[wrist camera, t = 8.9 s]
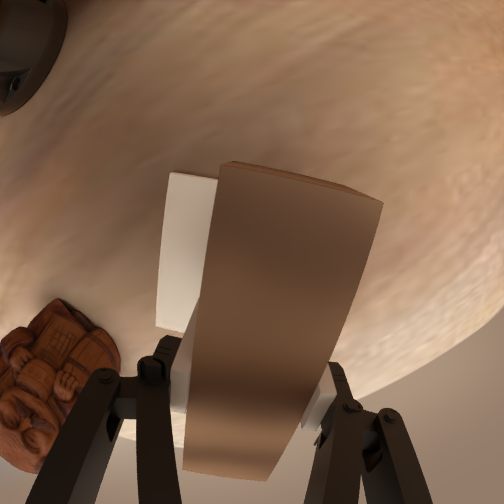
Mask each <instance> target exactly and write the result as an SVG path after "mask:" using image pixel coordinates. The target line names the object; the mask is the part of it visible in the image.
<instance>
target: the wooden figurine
mask: <svg viewBox="0 0 504 504" xmlns="http://www.w3.org/2000/svg"><path fill="white" fill-rule="evenodd" d="M103 367H107V368H111V369H114V370H116V371H117V372H118V373H119V372H120V356H119V354H118V351H117V347H116V345H115V344H114V342H113V341H112V339H111V338H110V336H109V335H108V334H107V333H106V332H105V331H104V330H103V329H102V328H98V329H97V328H96V327H94V326H93V324H92V323H91V322H90V321H89V320H88V319H86V318H85V317H84V316H83V315H82V314H81V313H80V312H78V311H72V312H69V311H68V310H67V309H66V307H65V306H64V305H63V303H62V302H61V301H60V300H59V299H56V300H53V301H52V302H50V303H49V304H48V305H47V306H46V307H45V308H44V309H42V310H41V312H40V313H39V314H38V315H37V316H36V317H35V318H34V319H33V320H32V321H31V322H30V324H29V325H28V327H27V328H26V327H18V328H16V329H14V330H12V331H11V332H10V333H9V334H7V335H6V336H5V337H4V338H3V339H2V340H1V342H0V456H1V457H3V458H4V459H5V460H6V461H8V462H9V463H10V464H11V465H13V466H14V467H16V468H18V469H20V470H22V471H25V472H28V473H33V474H39V471H40V469H41V467H42V465H43V463H44V461H45V459H46V457H47V455H48V453H49V451H50V449H51V447H52V445H53V443H54V441H55V439H56V437H57V435H58V433H59V431H60V429H61V427H62V426H63V424H64V422H65V420H66V418H67V416H68V414H69V413H70V411H71V409H72V407H73V405H74V404H75V402H76V400H77V398H78V396H79V395H80V393H81V391H82V389H83V388H84V386H85V384H86V383H87V381H88V379H89V377H90V376H91V374H92V373H93V372H94V371H95V370H96V369H98V368H103Z"/></svg>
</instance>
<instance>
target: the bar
mask: <svg viewBox="0 0 504 504" xmlns="http://www.w3.org/2000/svg"><path fill="white" fill-rule="evenodd" d="M383 204H384V203H383V202H381V201H379V200H376V199H374V198H372V197H370V196H367V195H365V194H363V193H361V192H358V191H356V190H353V189H351V188H349V187H346V186H344V185H340V184H336V183H332V182H328V181H325V180H320V179H316V178H312V177H308V176H304V175H300V174H295V173H291V172H286V171H282V170H277V169H272V168H268V167H263V166H258V165H253V164H247V163H242V162H237V161H232V162H229V163H226V164H222V165H221V167H220V172H219V177H218V183H217V188H216V194H215V200H214V206H213V211H212V217H211V223H210V230H209V236H208V242H207V248H206V255H205V262H204V268H203V275H202V282H201V289H200V297H199V304H198V312H197V320H196V328H195V336H194V344H193V353H192V362H191V364H192V366H191V376H190V386H189V396H188V405H187V413H186V425H185V438H184V452H183V470H186V471H191V472H196V473H202V474H208V475H214V476H221V477H228V478H236V479H245V480H255V481H266V480H267V479H268V477H269V476H270V474H271V473H272V471H273V469H274V468H275V466H276V464H277V462H278V461H279V459H280V457H281V455H282V454H283V452H284V450H285V448H286V446H287V445H288V443H289V441H290V439H291V437H292V436H293V434H294V432H295V430H296V428H297V426H298V424H299V422H300V420H301V418H302V416H303V414H304V412H305V410H306V408H307V406H308V404H309V402H310V400H311V398H312V396H313V394H314V391H315V389H316V387H317V385H318V383H319V382H320V379H321V377H322V375H323V373H324V371H325V368H326V366H327V364H328V362H329V359H330V357H331V355H332V352H333V350H334V348H335V345H336V343H337V340H338V338H339V336H340V333H341V331H342V328H343V326H344V323H345V321H346V318H347V315H348V313H349V310H350V307H351V305H352V302H353V299H354V297H355V294H356V291H357V288H358V285H359V282H360V280H361V277H362V274H363V271H364V268H365V265H366V262H367V259H368V255H369V252H370V249H371V246H372V243H373V239H374V236H375V233H376V229H377V226H378V222H379V219H380V215H381V211H382V208H383Z"/></svg>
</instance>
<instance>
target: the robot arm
mask: <svg viewBox="0 0 504 504" xmlns="http://www.w3.org/2000/svg"><path fill="white" fill-rule="evenodd" d="M66 24H67V11H66V7H65V4H64V2H63V0H0V116H5V115H8V114H10V113H12V112H14V111H15V110H17V109H18V108H20V107H21V106H22V105H23V104H24V103H25V102H26V101H27V100H28V99H29V98H30V97H31V96H32V95H33V94H34V92H35V91H36V90H37V89H38V87H39V86H40V85H41V83H42V82H43V80H44V79H45V77H46V75H47V74H48V72H49V70H50V69H51V67H52V65H53V63H54V61H55V59H56V57H57V54H58V52H59V50H60V47H61V44H62V41H63V38H64V34H65V30H66ZM198 304H199V298H198V300H197V303H196V305H195V308H194V310H193V313H192V315H191V318H190V320H189V323H188V325H187V328H186V331H185V333H184V336H183V338H178V337H174V336H169V335H166V336H165V337H163V338H162V339H160V341H159V343H158V345H157V347H156V349H155V352H154V354H153V356H145V357H142V358H141V359H140V360H139V361H138V364H137V372H138V376H135V377H120V376H119V373H118V372H117V371H116V370H114V369H111V368H107V367H103V368H98V369H96V370H95V371H94V372H93V373H92V374H91V376H90V377H89V379H88V381H87V383H86V384H85V386H84V388H83V389H82V391H81V393H80V395H79V396H78V398H77V400H76V402H75V404H74V405H73V407H72V409H71V411H70V413H69V414H68V416H67V418H66V420H65V422H64V424H63V426H62V427H61V429H60V431H59V433H58V435H57V437H56V439H55V441H54V443H53V445H52V447H51V449H50V451H49V453H48V455H47V457H46V459H45V461H44V463H43V465H42V467H41V469H40V471H39V474H38V476H37V478H36V480H35V483H34V485H33V487H32V489H31V491H30V494H29V496H28V498H27V500H26V503H25V504H95V501H96V497H97V494H98V491H99V488H100V485H101V482H102V479H103V476H104V473H105V470H106V468H107V464H108V462H109V459H110V456H111V453H112V451H113V447H114V445H115V442H116V439H117V437H118V434H119V431H120V429H121V426H122V423H123V421H124V419H136V450H137V451H136V453H137V480H138V496H139V504H182V501H181V495H180V489H179V482H178V475H177V469H176V461H175V453H174V444H173V435H172V425H171V414H170V410H171V411H175V412H179V413H184V414H185V413H186V409H187V405H188V396H189V386H190V376H191V366H192V364H191V362H192V353H193V344H194V336H195V328H196V320H197V312H198ZM320 424H321V428H322V431H321V433H320V435H319V436H318V438H317V439H316V441H315V443H314V445H316V444H317V447H316V452H315V457H314V462H313V466H312V471H311V475H310V479H309V484H308V488H307V492H306V496H305V500H304V504H358V499H359V490H360V477H361V476H362V481H363V486H364V491H365V496H366V501H367V504H433V502H432V500H431V496H430V493H429V490H428V487H427V484H426V481H425V478H424V475H423V473H422V470H421V467H420V464H419V462H418V458H417V456H416V453H415V451H414V448H413V445H412V442H411V440H410V437H409V435H408V432H407V430H406V427H405V425H404V422H403V419H402V417H401V415H400V414H399V413H398V412H397V411H395V410H393V409H391V408H383V409H381V410H380V411H379V413H378V414H377V413H373V412H369V411H366V410H363V407H362V405H361V404H360V403H359V402H358V401H357V400H355V399H353V396H352V393H351V390H350V387H349V384H348V382H347V379H346V376H345V373H344V370H343V368H342V367H341V366H340V365H339V364H338V362H328V364H327V366H326V368H325V371H324V373H323V375H322V377H321V379H320V382H319V383H318V385H317V387H316V389H315V391H314V394H313V396H312V398H311V400H310V402H309V404H308V406H307V408H306V410H305V412H304V414H303V416H302V418H301V428H302V430H312V431H317V429H318V427H319V426H320Z"/></svg>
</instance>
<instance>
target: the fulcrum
mask: <svg viewBox="0 0 504 504" xmlns="http://www.w3.org/2000/svg"><path fill="white" fill-rule="evenodd" d="M217 183H218V179H214V178H208V177H202V176H196V175H190V174H184V173H177V172H171V173H170V176H169V183H168V190H167V197H166V205H165V213H164V221H163V230H162V240H161V250H160V261H159V273H158V288H157V305H156V326H157V327H161V328H165V329H169V330H174V331H178V332H183V333H185V331H186V328H187V325H188V323H189V320H190V318H191V315H192V313H193V310H194V308H195V305H196V303H197V300H198V298H199V297H200V289H201V282H202V275H203V268H204V262H205V255H206V248H207V242H208V236H209V230H210V223H211V217H212V211H213V206H214V200H215V194H216V188H217Z"/></svg>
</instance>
